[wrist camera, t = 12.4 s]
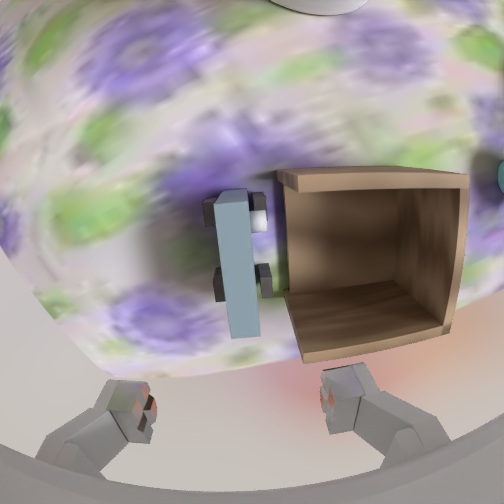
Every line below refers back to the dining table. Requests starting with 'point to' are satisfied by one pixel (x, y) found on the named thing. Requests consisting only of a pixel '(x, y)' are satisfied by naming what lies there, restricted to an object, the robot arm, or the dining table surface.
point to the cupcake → (501, 176)
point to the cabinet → (367, 256)
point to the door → (239, 259)
